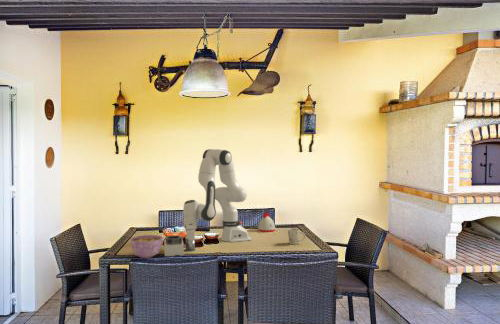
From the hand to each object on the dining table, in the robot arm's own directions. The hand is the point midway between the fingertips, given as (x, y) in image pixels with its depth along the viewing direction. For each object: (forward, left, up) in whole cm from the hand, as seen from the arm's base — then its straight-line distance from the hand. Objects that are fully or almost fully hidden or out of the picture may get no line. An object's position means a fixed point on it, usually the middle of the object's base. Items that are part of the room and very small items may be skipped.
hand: (190, 245), depth 282 cm
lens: (0, 0, -3) cm, 3 cm away
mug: (-75, -2, -4) cm, 75 cm away
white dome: (-65, -51, -4) cm, 83 cm away
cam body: (+11, +4, -3) cm, 12 cm away
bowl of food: (+28, +11, -4) cm, 30 cm away
